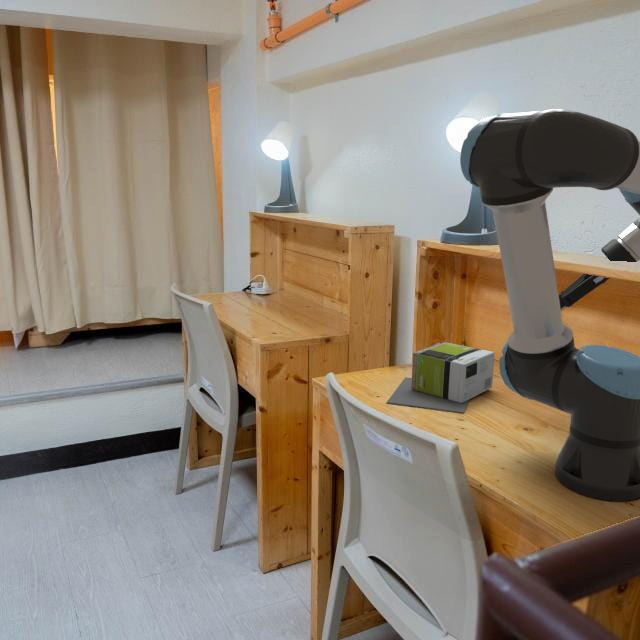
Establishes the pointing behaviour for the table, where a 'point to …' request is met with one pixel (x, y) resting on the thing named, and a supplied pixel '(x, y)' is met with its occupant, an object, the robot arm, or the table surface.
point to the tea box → (452, 371)
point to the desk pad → (423, 399)
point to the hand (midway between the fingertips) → (538, 320)
